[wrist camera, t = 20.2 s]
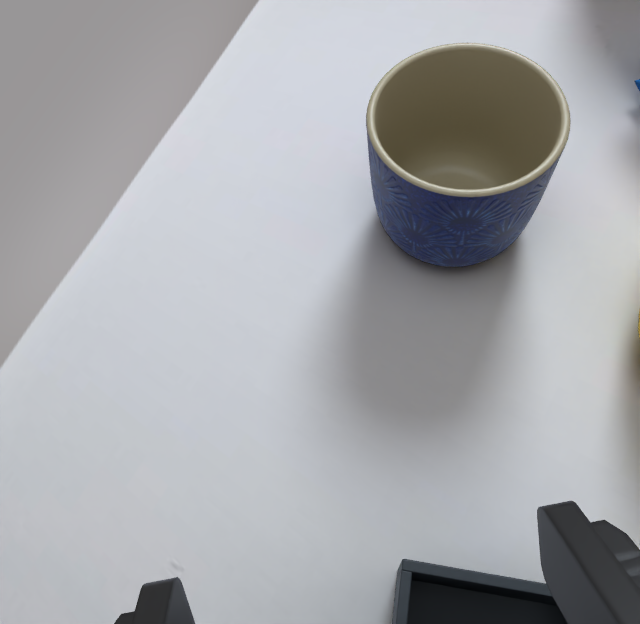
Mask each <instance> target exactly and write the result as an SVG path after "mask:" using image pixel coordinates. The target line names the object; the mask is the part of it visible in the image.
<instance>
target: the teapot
mask: <svg viewBox="0 0 640 624" xmlns="http://www.w3.org/2000/svg"><path fill="white" fill-rule="evenodd" d="M638 332H639V338H640V311H639V324H638Z"/></svg>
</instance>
